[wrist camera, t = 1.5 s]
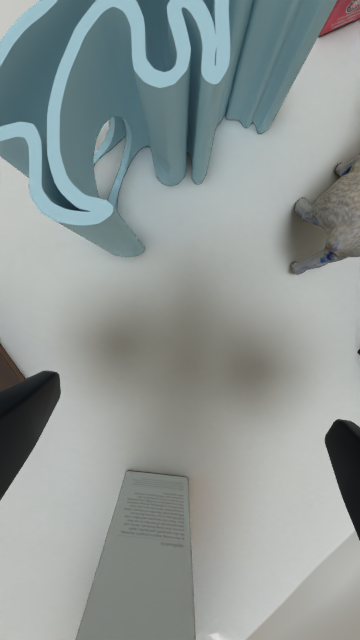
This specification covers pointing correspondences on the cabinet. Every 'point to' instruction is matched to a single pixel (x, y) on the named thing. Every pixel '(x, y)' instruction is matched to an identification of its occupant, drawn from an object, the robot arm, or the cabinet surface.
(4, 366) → the brown wooden tray
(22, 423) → the robot arm
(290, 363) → the cabinet surface
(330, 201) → the figurine
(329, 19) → the ink box
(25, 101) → the squiggly pen holder
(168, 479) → the small box
